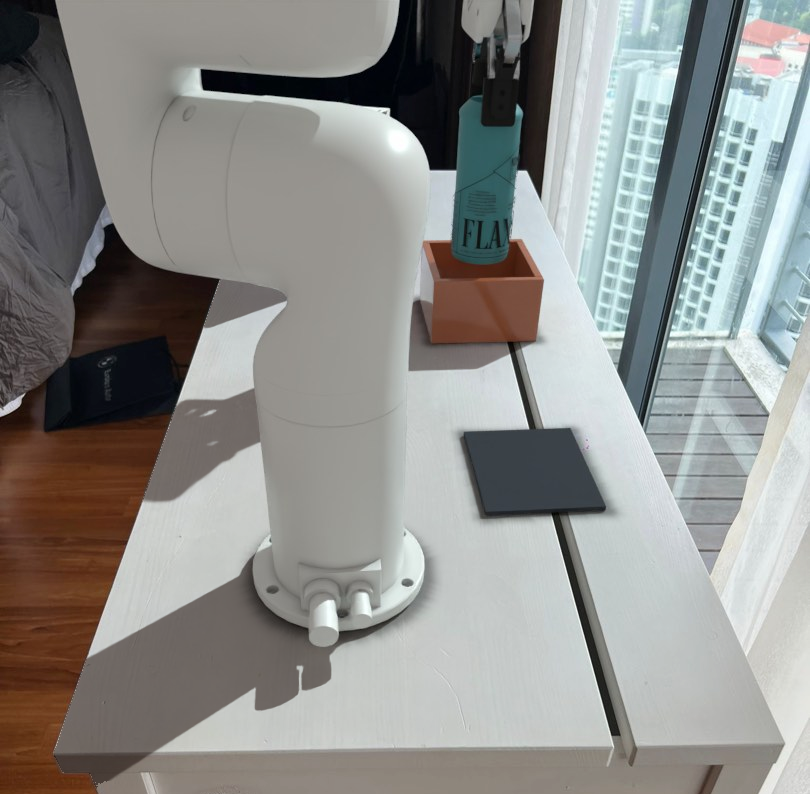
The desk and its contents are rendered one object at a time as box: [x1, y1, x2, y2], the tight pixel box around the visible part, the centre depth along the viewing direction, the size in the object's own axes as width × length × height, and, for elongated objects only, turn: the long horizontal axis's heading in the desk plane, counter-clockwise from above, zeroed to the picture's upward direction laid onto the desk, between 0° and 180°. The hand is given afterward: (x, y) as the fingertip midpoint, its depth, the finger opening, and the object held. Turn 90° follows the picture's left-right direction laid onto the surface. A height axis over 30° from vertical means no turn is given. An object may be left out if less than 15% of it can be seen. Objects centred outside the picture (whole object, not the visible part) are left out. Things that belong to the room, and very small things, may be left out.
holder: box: [419, 238, 545, 345], centre depth 94 cm, size 12×12×7 cm
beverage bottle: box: [449, 57, 524, 265], centre depth 85 cm, size 6×7×20 cm
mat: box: [463, 427, 607, 516], centre depth 73 cm, size 12×10×1 cm
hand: (490, 115), depth 82 cm, fingers closed on beverage bottle, 6 cm apart
